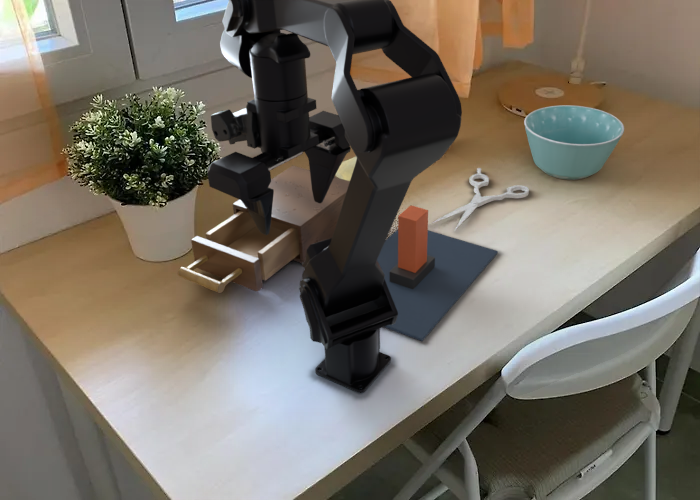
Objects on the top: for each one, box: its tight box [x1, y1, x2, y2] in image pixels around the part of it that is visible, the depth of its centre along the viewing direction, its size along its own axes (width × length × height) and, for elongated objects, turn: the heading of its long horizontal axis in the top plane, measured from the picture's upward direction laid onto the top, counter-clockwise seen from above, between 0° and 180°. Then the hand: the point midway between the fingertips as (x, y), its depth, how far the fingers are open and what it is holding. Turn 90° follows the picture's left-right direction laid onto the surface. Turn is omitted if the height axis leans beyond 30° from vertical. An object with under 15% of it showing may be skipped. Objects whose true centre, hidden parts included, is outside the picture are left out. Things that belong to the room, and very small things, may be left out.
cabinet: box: [232, 165, 350, 264], centre depth 104 cm, size 14×12×6 cm
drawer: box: [177, 210, 300, 294], centre depth 96 cm, size 18×11×5 cm, turn 147°
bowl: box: [523, 104, 625, 181], centre depth 117 cm, size 16×16×8 cm
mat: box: [377, 229, 499, 342], centre depth 94 cm, size 22×15×1 cm
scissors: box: [430, 167, 530, 232], centre depth 110 cm, size 11×1×20 cm
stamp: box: [389, 204, 435, 289], centre depth 92 cm, size 6×4×10 cm, turn 146°
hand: (292, 217), depth 84 cm, fingers open, 9 cm apart
